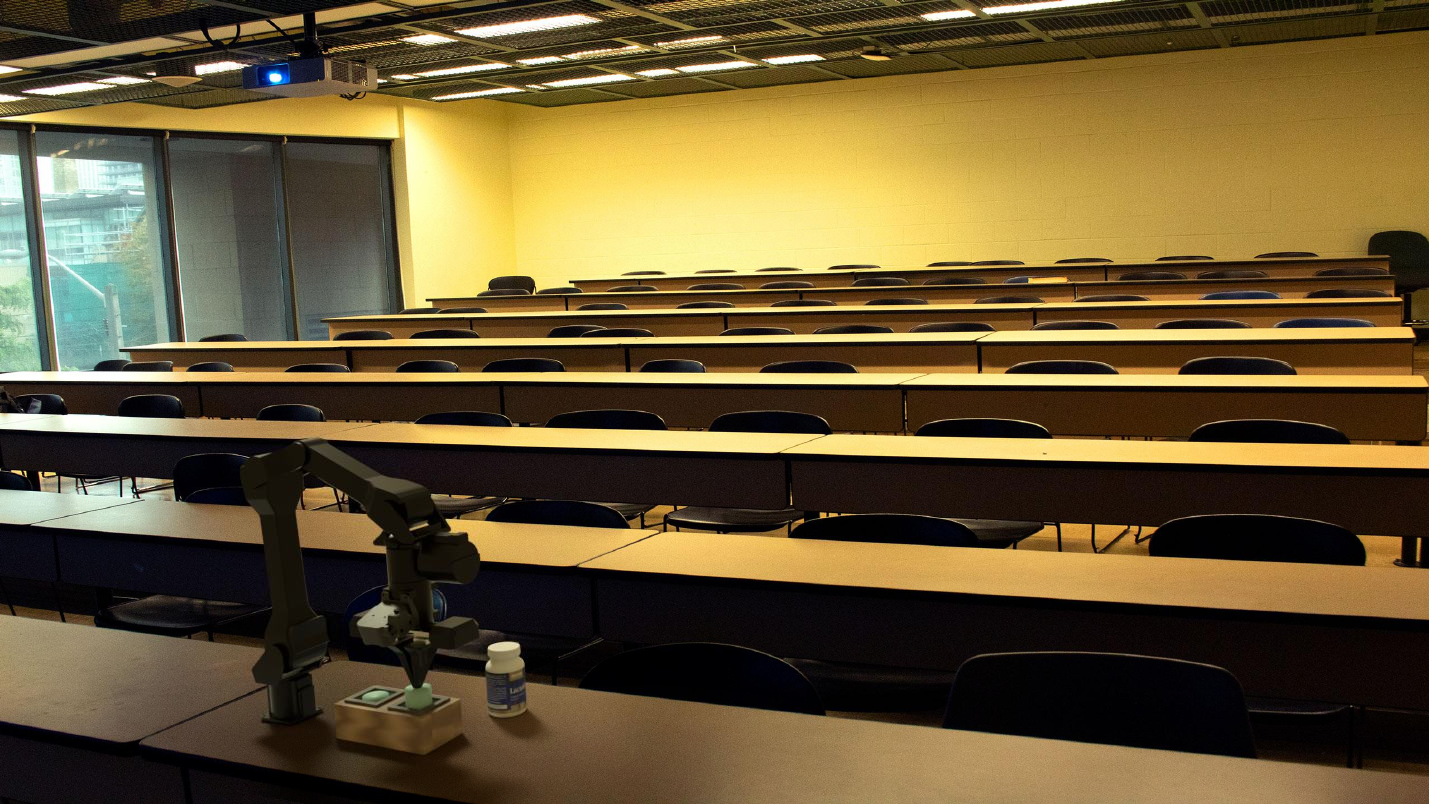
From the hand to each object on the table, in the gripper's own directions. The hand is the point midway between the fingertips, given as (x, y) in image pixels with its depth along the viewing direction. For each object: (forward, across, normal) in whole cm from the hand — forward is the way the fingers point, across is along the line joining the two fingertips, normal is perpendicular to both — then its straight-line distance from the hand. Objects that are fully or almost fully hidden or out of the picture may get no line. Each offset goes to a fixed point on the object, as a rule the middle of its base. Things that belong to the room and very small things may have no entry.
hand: (417, 687), depth 157 cm
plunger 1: (+8, -8, 0) cm, 11 cm away
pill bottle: (+8, +5, +13) cm, 16 cm away
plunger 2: (+5, 0, 0) cm, 5 cm away
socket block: (+8, -4, 0) cm, 8 cm away
